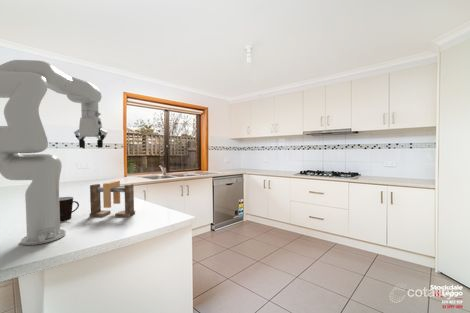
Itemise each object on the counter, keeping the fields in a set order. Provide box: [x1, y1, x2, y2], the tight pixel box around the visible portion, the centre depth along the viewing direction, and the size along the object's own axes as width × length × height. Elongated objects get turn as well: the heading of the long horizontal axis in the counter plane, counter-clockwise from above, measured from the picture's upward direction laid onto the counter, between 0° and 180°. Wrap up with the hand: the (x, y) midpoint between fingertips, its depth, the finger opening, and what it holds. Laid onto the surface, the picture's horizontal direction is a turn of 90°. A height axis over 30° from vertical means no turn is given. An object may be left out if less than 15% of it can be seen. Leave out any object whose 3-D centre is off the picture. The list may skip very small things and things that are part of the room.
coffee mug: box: [59, 196, 80, 222], centre depth 105 cm, size 12×9×10 cm
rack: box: [88, 183, 136, 218], centre depth 112 cm, size 20×6×16 cm, turn 88°
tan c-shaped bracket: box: [102, 180, 121, 209], centre depth 111 cm, size 3×9×12 cm, turn 176°
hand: (91, 147), depth 117 cm, fingers open, 9 cm apart
